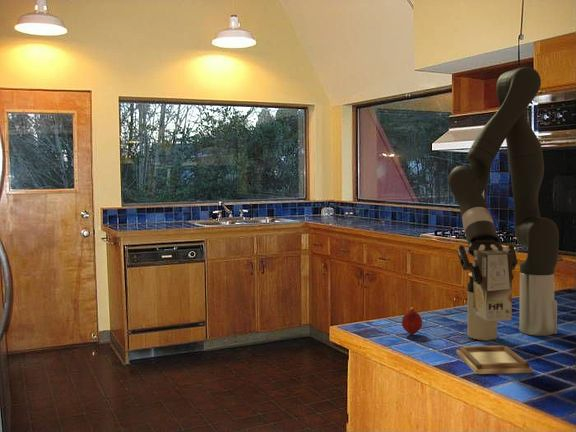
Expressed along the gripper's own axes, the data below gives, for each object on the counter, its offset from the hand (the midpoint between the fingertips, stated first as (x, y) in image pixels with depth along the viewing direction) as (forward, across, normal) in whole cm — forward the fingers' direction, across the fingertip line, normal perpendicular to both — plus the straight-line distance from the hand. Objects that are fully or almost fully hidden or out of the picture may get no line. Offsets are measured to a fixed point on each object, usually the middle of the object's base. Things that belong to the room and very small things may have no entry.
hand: (494, 282), depth 147 cm
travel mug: (-3, +5, +32) cm, 32 cm away
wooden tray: (+13, 0, +15) cm, 20 cm away
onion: (-6, -14, +35) cm, 38 cm away
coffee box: (+5, 0, +8) cm, 9 cm away
